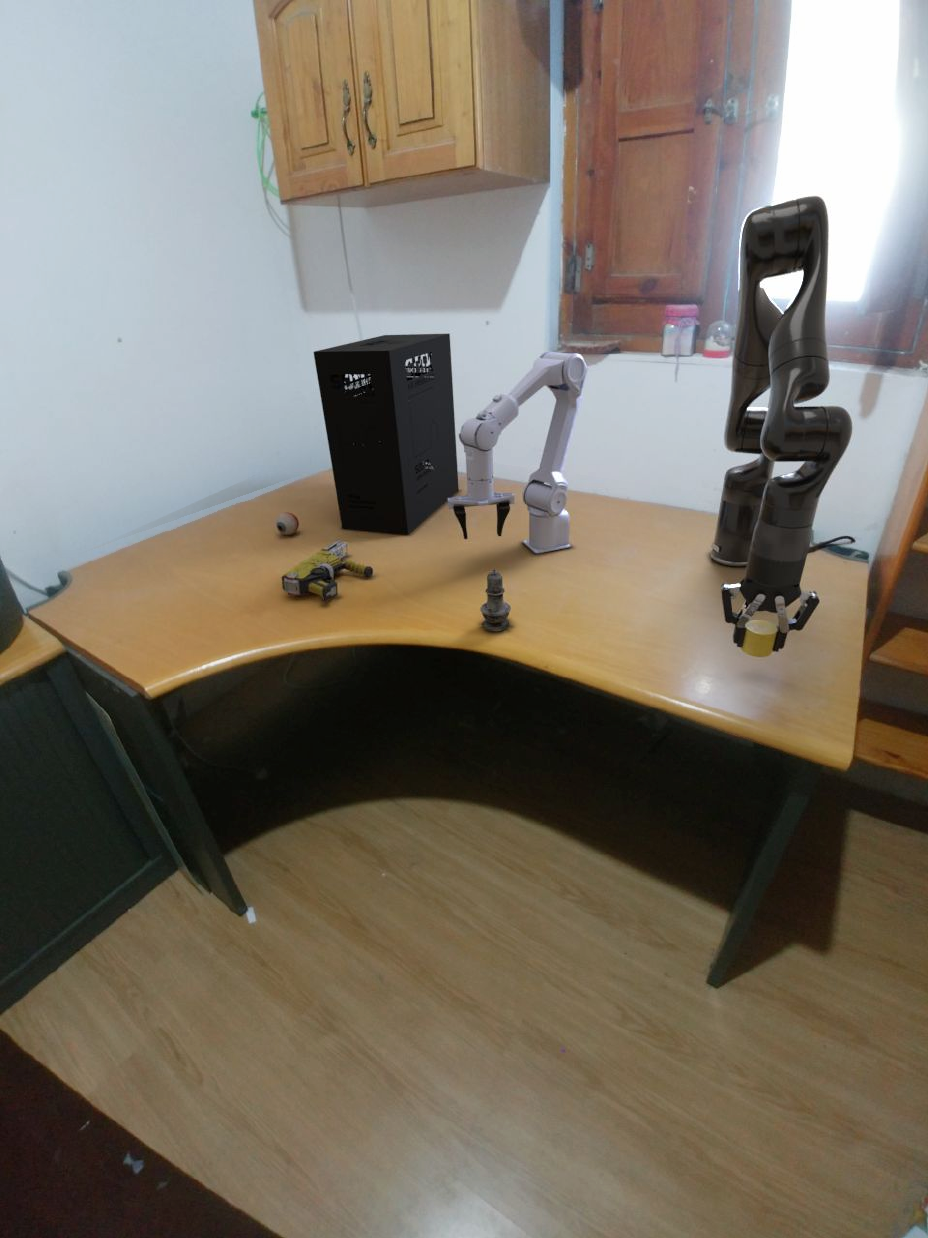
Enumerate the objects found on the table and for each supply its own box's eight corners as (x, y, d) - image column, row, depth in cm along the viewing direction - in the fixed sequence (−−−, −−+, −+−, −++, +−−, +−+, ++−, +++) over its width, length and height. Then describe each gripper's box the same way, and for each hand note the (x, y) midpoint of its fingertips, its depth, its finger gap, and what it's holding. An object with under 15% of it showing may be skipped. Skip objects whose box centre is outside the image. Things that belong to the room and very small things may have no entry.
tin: (777, 649, 96) (783, 626, 94) (763, 660, 94) (769, 638, 92) (748, 638, 100) (753, 616, 98) (734, 649, 97) (739, 627, 95)
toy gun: (389, 548, 145) (334, 537, 149) (339, 588, 125) (277, 575, 129) (389, 566, 147) (335, 555, 151) (340, 608, 127) (279, 595, 131)
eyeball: (273, 537, 164) (268, 516, 161) (287, 528, 169) (282, 508, 166) (291, 539, 161) (286, 518, 158) (305, 530, 166) (301, 510, 163)
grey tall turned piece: (508, 633, 114) (507, 576, 108) (478, 631, 116) (475, 574, 110) (512, 617, 119) (512, 562, 113) (483, 615, 120) (481, 561, 114)
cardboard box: (400, 486, 197) (384, 334, 175) (458, 490, 190) (449, 333, 168) (342, 528, 167) (313, 351, 144) (408, 534, 160) (389, 350, 138)
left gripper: (447, 485, 126) (451, 545, 132) (516, 479, 126) (517, 540, 133) (445, 475, 132) (449, 533, 138) (511, 470, 132) (511, 528, 139)
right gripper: (829, 542, 89) (803, 640, 97) (725, 535, 93) (708, 629, 102) (839, 563, 83) (809, 666, 91) (727, 554, 87) (709, 653, 96)
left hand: (482, 536), depth 136 cm, fingers open, 7 cm apart
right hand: (756, 646), depth 97 cm, fingers closed on tin, 4 cm apart
